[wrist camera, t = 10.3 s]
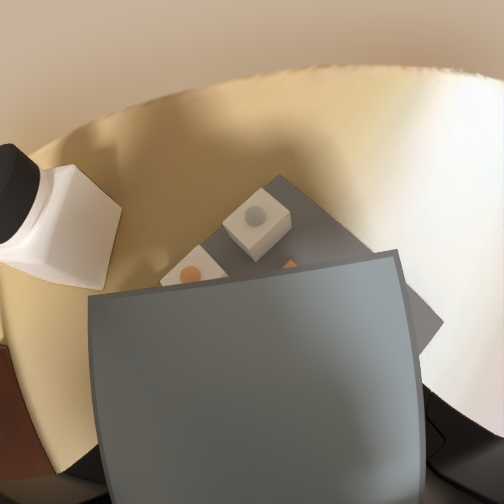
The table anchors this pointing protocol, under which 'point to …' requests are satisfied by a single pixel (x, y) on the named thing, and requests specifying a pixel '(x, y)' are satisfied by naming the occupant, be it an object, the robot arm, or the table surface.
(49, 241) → the medicine bottle
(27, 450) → the letter holder
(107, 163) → the table surface
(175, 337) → the cap
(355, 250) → the board
